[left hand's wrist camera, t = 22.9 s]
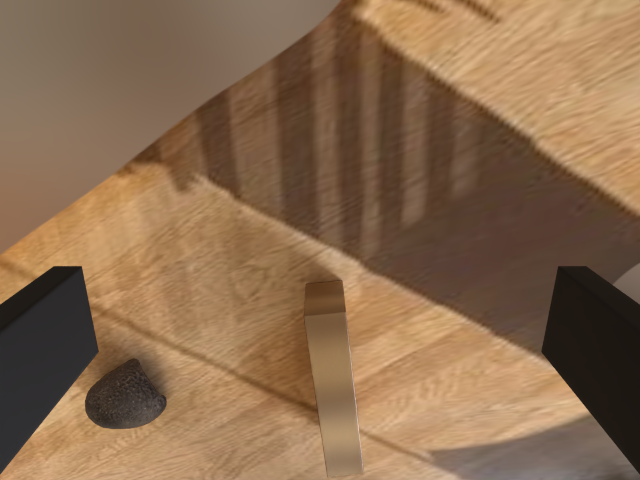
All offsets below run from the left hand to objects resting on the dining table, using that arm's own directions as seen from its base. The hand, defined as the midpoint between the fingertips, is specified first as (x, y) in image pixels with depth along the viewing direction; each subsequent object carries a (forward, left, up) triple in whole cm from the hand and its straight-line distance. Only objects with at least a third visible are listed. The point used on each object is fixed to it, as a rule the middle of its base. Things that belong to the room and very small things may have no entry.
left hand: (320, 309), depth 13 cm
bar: (+13, +27, -41) cm, 51 cm away
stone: (+40, +17, -41) cm, 59 cm away
